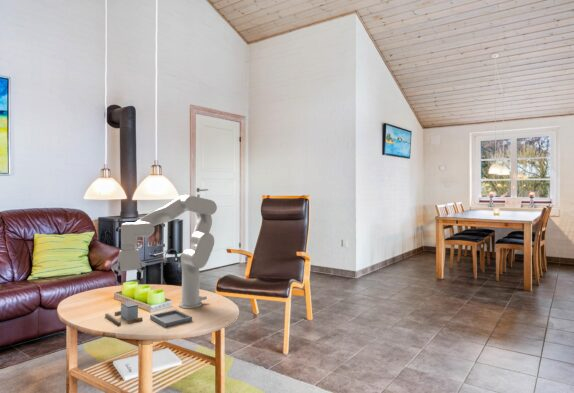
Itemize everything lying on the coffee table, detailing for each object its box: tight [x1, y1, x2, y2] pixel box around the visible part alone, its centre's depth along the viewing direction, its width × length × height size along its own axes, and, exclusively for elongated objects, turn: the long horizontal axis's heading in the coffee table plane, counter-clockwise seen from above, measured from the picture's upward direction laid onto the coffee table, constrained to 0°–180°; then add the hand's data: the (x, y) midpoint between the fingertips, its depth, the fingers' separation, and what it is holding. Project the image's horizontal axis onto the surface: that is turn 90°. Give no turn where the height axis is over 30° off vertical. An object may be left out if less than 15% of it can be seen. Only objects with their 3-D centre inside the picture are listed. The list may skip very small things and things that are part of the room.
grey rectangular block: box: [120, 300, 139, 321], centre depth 204 cm, size 5×9×7 cm, turn 43°
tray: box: [149, 309, 193, 328], centre depth 202 cm, size 14×16×2 cm
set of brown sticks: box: [104, 310, 143, 327], centre depth 202 cm, size 12×17×2 cm
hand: (129, 281), depth 204 cm, fingers open, 9 cm apart
